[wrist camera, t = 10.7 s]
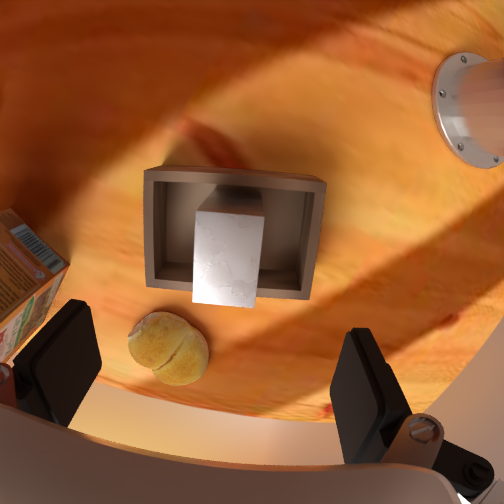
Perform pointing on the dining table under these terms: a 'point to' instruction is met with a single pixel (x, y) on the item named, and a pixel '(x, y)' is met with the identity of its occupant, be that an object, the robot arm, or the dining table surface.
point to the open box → (274, 231)
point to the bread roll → (169, 348)
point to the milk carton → (24, 281)
